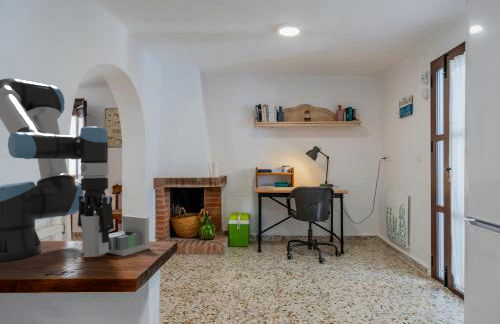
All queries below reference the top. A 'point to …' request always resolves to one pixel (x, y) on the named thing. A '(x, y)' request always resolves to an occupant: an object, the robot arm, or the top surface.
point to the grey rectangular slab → (113, 238)
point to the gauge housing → (135, 241)
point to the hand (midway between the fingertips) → (95, 251)
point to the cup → (90, 234)
